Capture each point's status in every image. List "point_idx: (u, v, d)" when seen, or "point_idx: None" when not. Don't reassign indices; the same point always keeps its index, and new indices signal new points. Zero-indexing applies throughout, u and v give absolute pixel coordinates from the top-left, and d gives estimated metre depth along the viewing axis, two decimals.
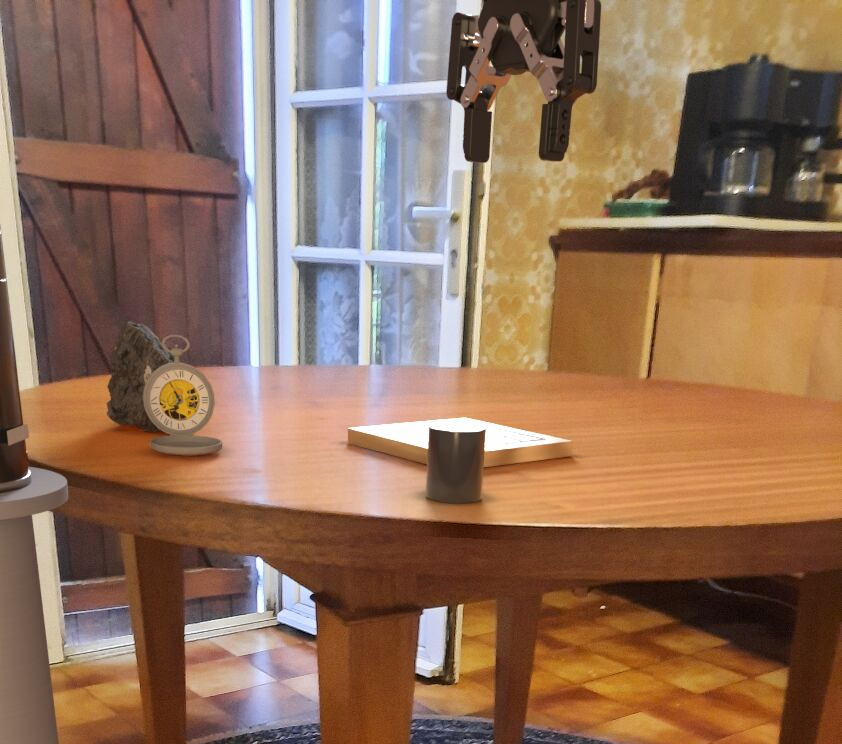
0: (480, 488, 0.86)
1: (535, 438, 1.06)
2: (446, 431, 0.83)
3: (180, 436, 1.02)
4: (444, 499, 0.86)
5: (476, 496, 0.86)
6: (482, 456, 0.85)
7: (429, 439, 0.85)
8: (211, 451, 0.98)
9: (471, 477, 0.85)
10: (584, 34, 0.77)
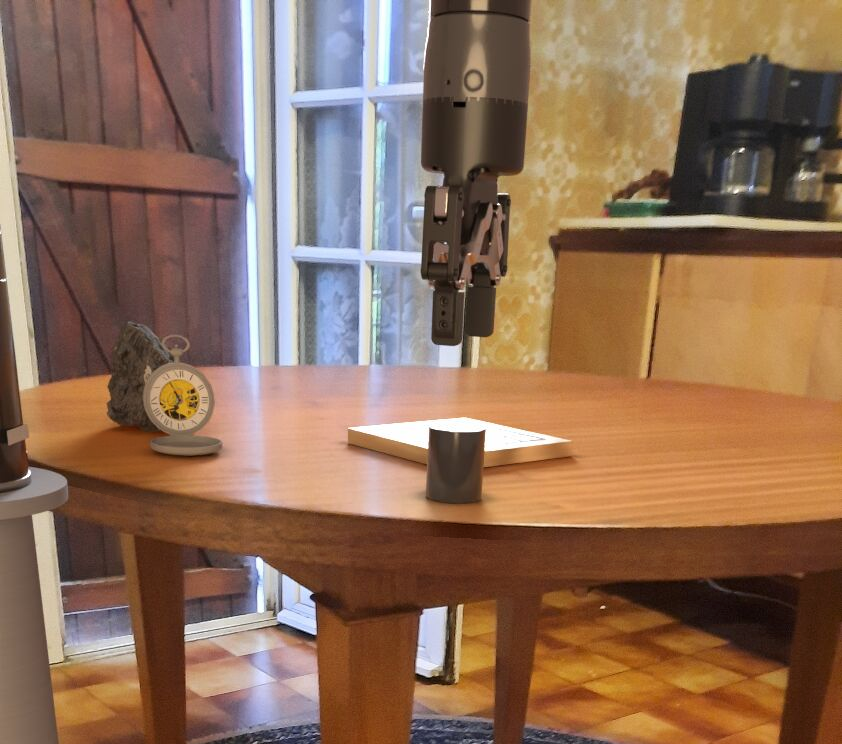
0: (480, 488, 0.86)
1: (535, 438, 1.06)
2: (446, 431, 0.83)
3: (180, 436, 1.02)
4: (444, 499, 0.86)
5: (476, 496, 0.86)
6: (482, 456, 0.85)
7: (429, 439, 0.85)
8: (211, 451, 0.98)
9: (471, 477, 0.85)
10: (433, 225, 0.74)
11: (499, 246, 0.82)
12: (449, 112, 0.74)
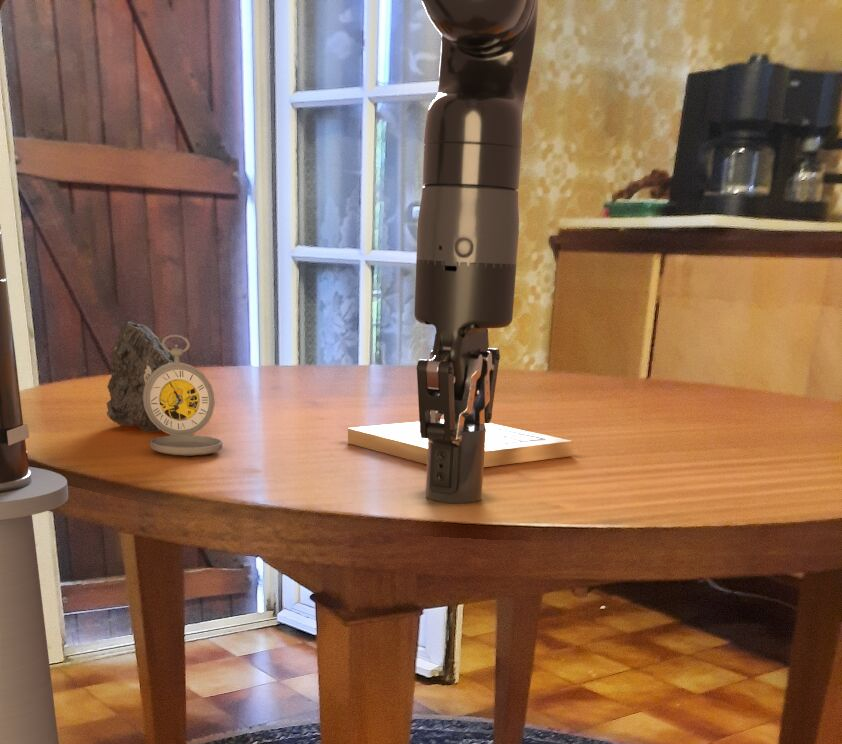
0: (480, 488, 0.86)
1: (535, 438, 1.06)
2: None
3: (180, 436, 1.02)
4: (444, 499, 0.86)
5: (476, 496, 0.86)
6: (482, 456, 0.85)
7: None
8: (211, 451, 0.98)
9: (471, 477, 0.85)
10: (427, 397, 0.79)
11: (486, 393, 0.85)
12: (441, 275, 0.77)
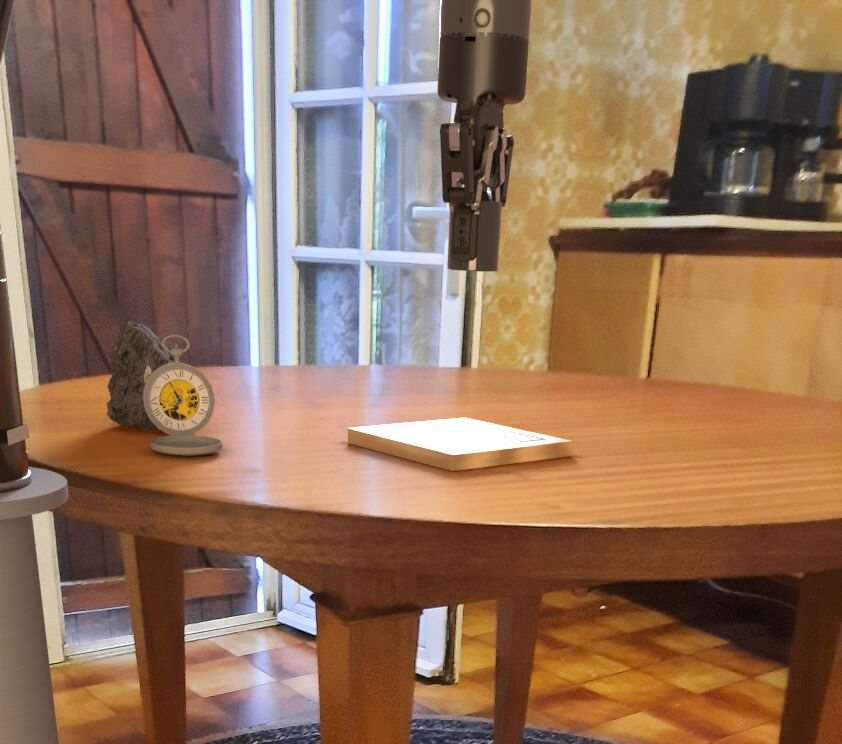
0: (496, 259, 0.96)
1: (535, 438, 1.06)
2: None
3: (180, 436, 1.02)
4: (464, 267, 0.95)
5: (493, 266, 0.96)
6: (498, 228, 0.95)
7: (451, 212, 0.94)
8: (211, 451, 0.98)
9: (488, 246, 0.94)
10: (449, 158, 0.88)
11: (502, 171, 0.95)
12: (461, 46, 0.87)
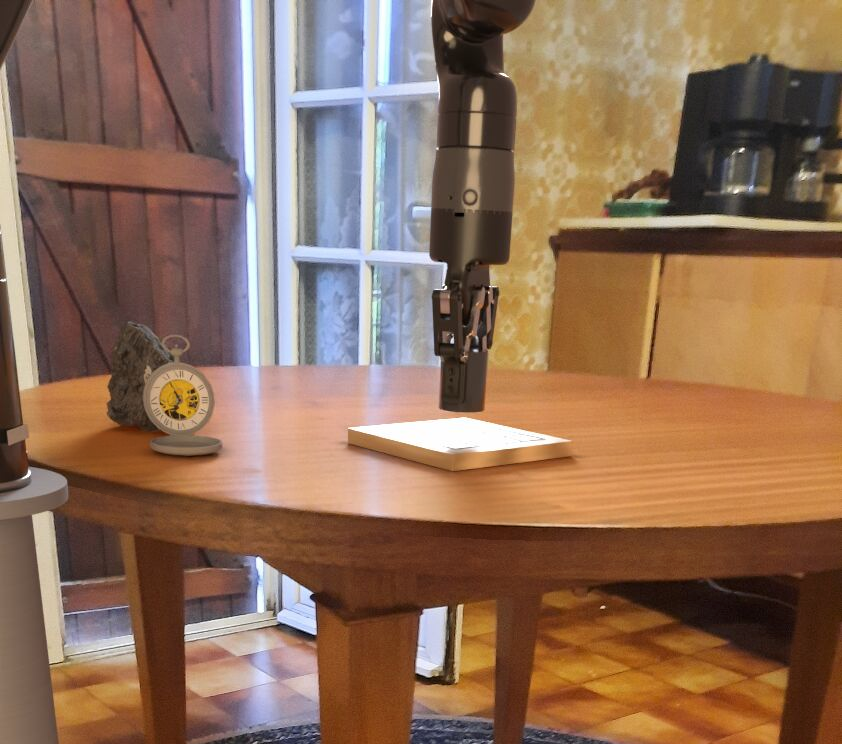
0: (483, 401, 1.05)
1: (535, 438, 1.06)
2: None
3: (180, 436, 1.02)
4: (454, 409, 1.04)
5: (480, 407, 1.04)
6: (485, 374, 1.03)
7: None
8: (211, 451, 0.98)
9: (476, 390, 1.03)
10: (440, 320, 0.97)
11: (488, 322, 1.03)
12: (451, 220, 0.96)
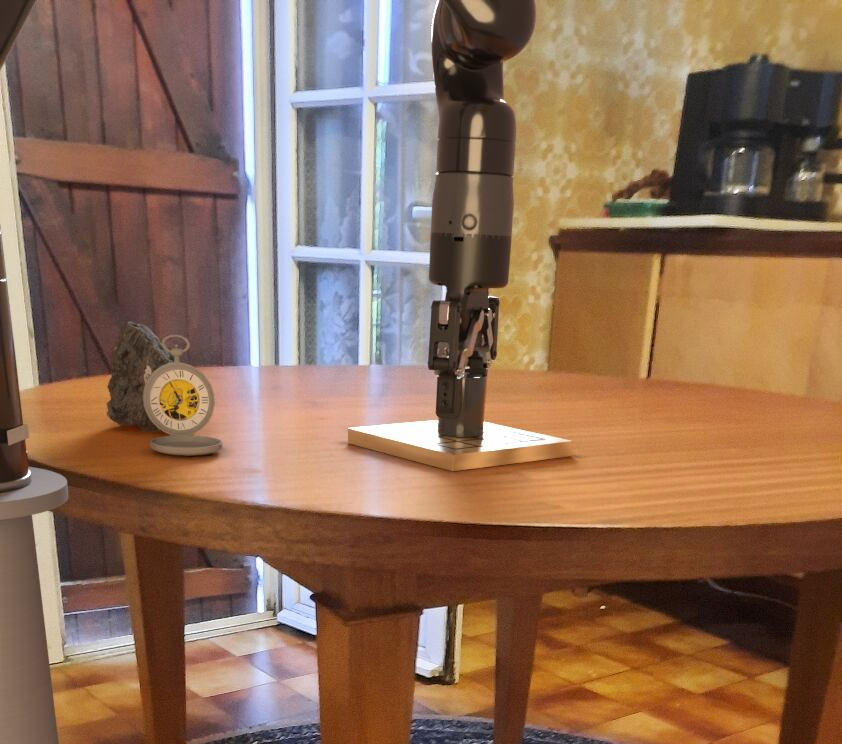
0: (482, 425, 1.06)
1: (535, 438, 1.06)
2: None
3: (180, 436, 1.02)
4: (452, 434, 1.05)
5: (479, 432, 1.05)
6: (484, 399, 1.04)
7: None
8: (211, 451, 0.98)
9: (475, 415, 1.04)
10: (438, 330, 0.97)
11: (490, 339, 1.05)
12: (450, 244, 0.96)
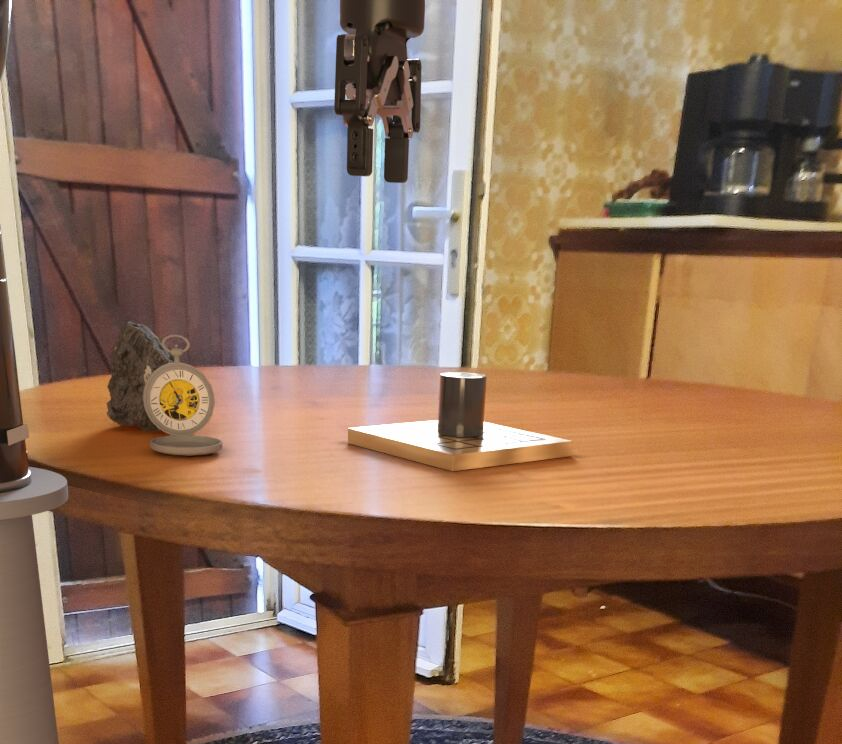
0: (482, 425, 1.06)
1: (535, 438, 1.06)
2: (454, 377, 1.03)
3: (180, 436, 1.02)
4: (452, 434, 1.05)
5: (479, 432, 1.05)
6: (484, 399, 1.04)
7: (440, 385, 1.04)
8: (211, 451, 0.98)
9: (475, 415, 1.04)
10: (343, 66, 0.90)
11: (409, 100, 0.98)
12: None
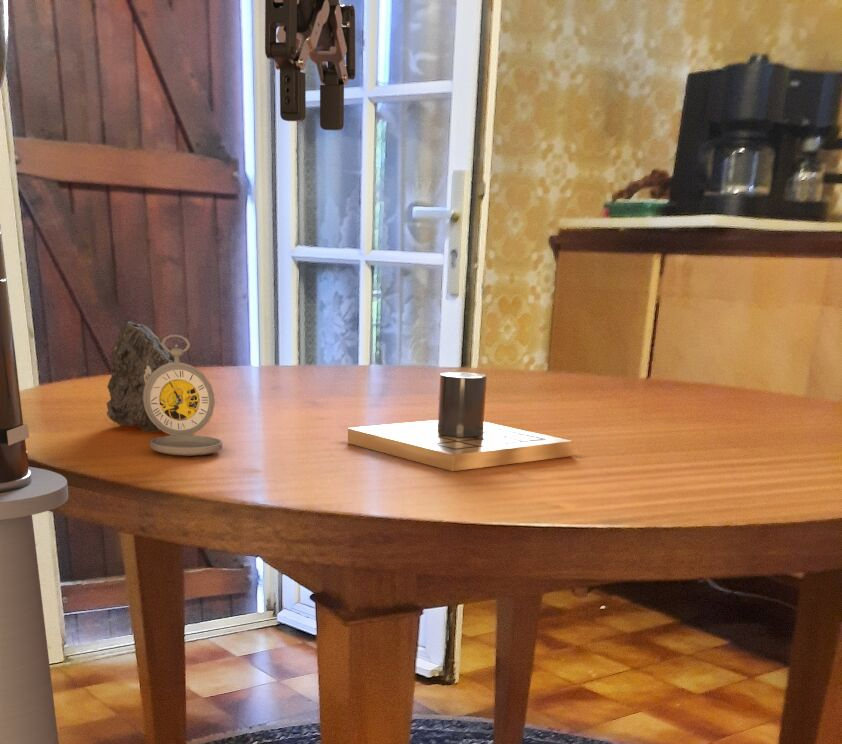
0: (482, 425, 1.06)
1: (535, 438, 1.06)
2: (454, 377, 1.03)
3: (180, 436, 1.02)
4: (452, 434, 1.05)
5: (479, 432, 1.05)
6: (484, 399, 1.04)
7: (440, 385, 1.04)
8: (211, 451, 0.98)
9: (475, 415, 1.04)
10: (273, 9, 0.91)
11: (342, 45, 0.99)
12: None
